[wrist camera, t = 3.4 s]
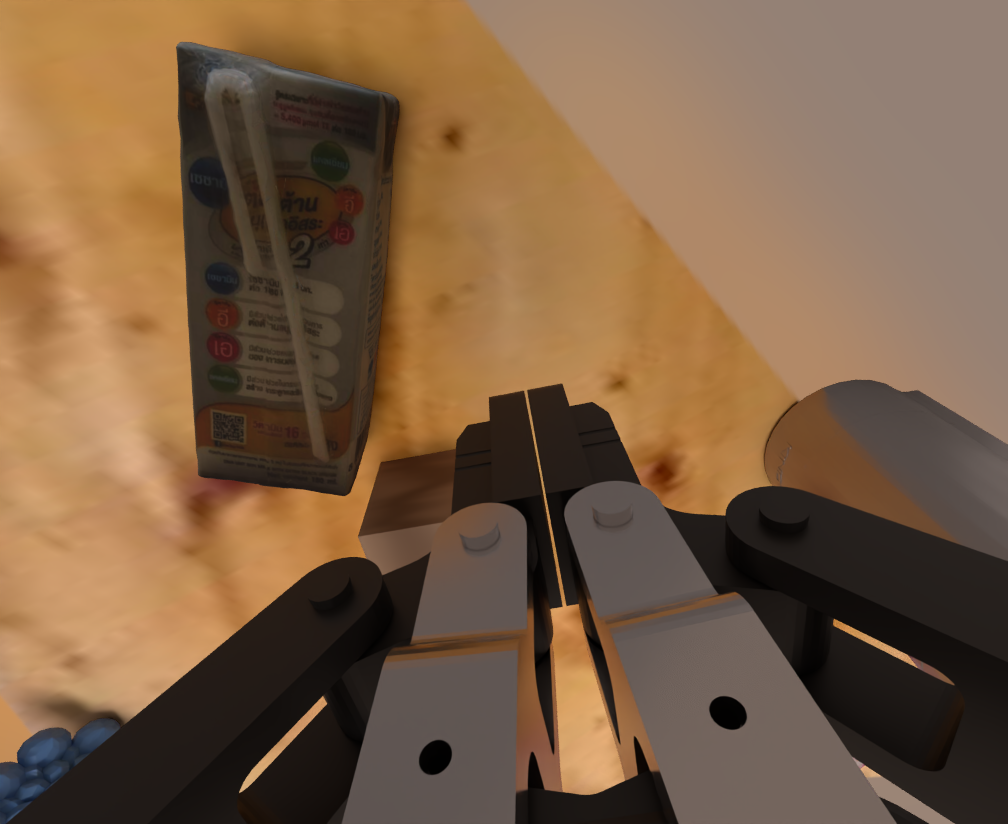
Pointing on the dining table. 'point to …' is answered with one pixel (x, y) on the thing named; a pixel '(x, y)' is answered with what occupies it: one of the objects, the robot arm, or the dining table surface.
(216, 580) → the dining table surface
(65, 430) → the dining table surface
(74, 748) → the grapes
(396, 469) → the walnut block
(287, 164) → the beverage carton
